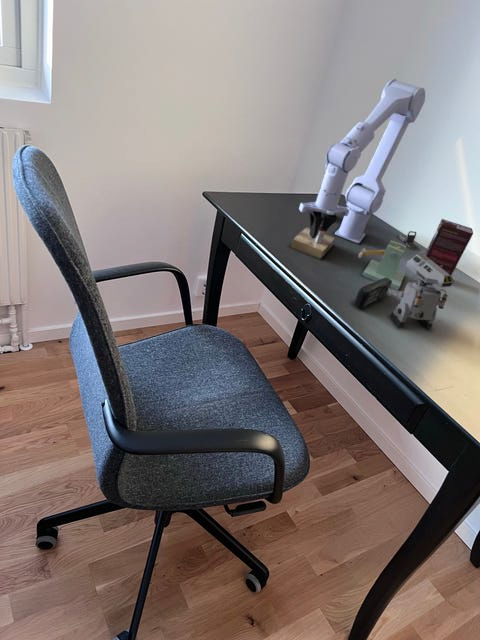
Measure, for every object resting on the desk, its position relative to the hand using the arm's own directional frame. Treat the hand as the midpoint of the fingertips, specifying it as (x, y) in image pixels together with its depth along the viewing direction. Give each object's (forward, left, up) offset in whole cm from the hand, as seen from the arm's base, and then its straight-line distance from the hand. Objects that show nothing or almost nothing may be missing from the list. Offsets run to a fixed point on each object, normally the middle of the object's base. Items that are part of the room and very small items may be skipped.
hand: (315, 236), depth 132 cm
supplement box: (-13, +34, -3) cm, 36 cm away
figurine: (+18, +31, -3) cm, 36 cm away
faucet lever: (0, +19, +2) cm, 19 cm away
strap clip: (-32, +24, -3) cm, 39 cm away
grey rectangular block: (0, 0, 0) cm, 0 cm away
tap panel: (0, 0, -3) cm, 3 cm away
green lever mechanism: (0, +22, -3) cm, 22 cm away
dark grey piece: (+16, +22, -3) cm, 27 cm away
